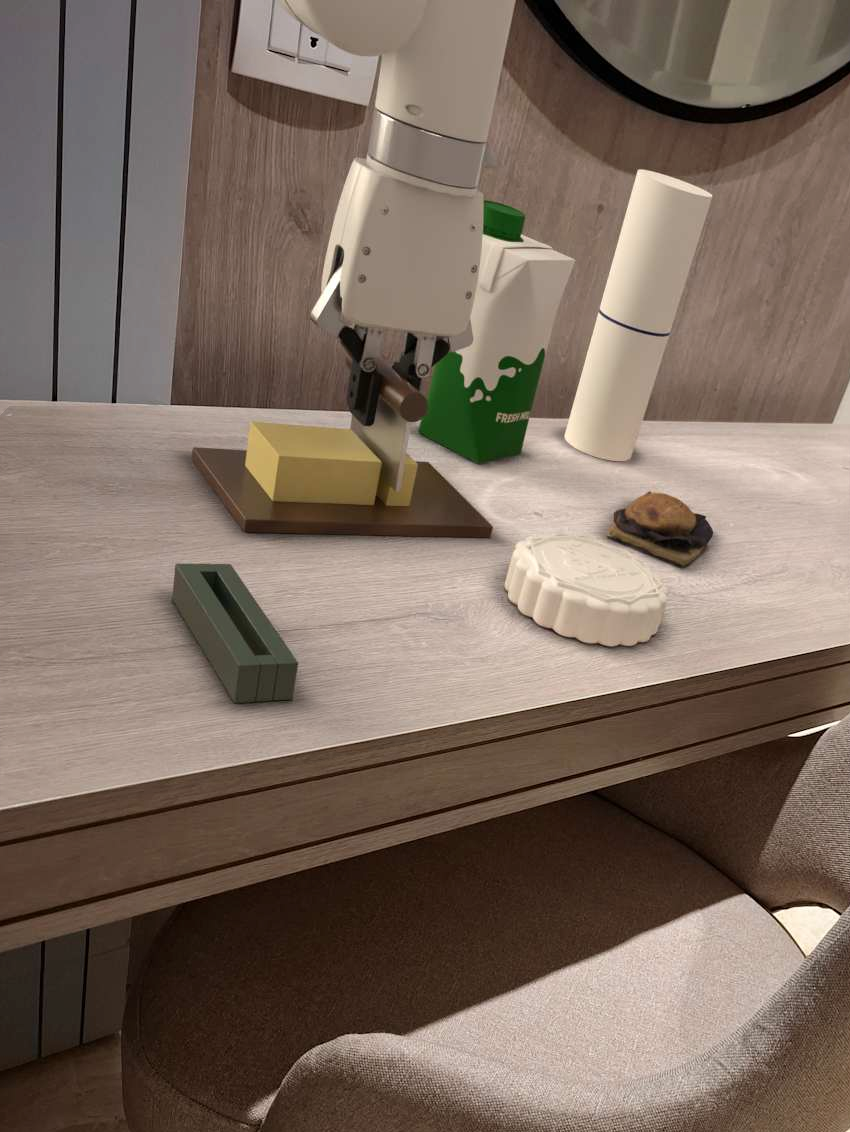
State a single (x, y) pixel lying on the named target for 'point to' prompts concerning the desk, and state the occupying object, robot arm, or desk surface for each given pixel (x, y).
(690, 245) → the cylindrical container
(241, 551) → the desk surface
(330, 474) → the butter block
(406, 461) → the butter slice
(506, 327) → the milk carton
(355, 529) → the butter board
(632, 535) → the open sandwich
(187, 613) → the holder
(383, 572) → the desk surface
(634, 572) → the mooncake
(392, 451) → the butter cutter
